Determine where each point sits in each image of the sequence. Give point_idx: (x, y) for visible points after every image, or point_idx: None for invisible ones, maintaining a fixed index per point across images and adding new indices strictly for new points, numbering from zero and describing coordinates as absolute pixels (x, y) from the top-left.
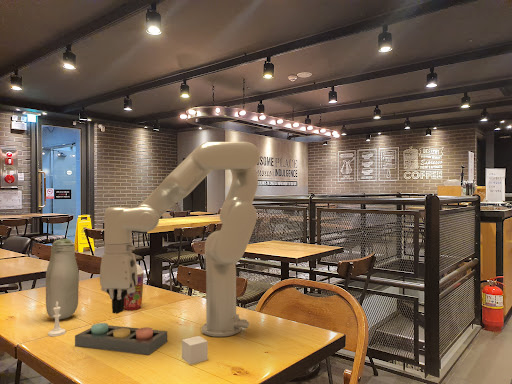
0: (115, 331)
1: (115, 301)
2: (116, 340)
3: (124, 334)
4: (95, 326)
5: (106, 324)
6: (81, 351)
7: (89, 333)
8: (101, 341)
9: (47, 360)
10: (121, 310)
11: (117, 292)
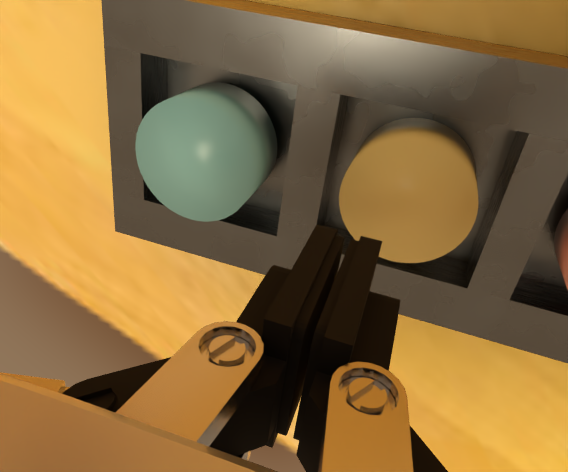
0: (357, 215)
1: (300, 433)
2: (422, 318)
3: (449, 246)
4: (172, 181)
5: (226, 131)
6: (229, 270)
7: None
8: None
9: (153, 346)
10: (371, 283)
11: (225, 417)
